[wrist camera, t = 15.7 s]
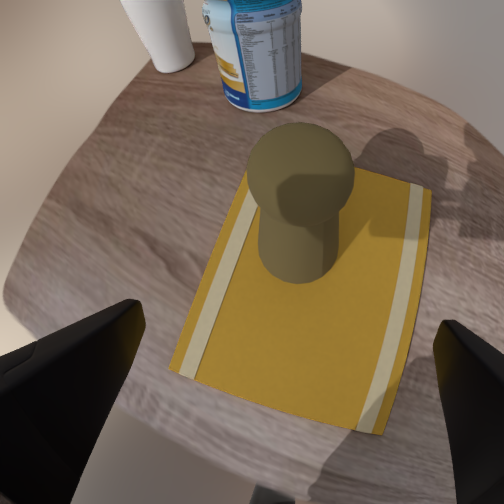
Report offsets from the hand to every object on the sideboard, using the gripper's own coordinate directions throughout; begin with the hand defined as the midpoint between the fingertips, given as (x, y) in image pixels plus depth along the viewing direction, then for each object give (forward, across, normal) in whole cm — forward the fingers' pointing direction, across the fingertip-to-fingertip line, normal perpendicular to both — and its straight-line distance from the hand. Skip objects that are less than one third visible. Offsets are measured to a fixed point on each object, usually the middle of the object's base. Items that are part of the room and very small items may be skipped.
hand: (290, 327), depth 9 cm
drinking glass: (+32, +16, -13) cm, 38 cm away
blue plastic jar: (+28, +4, -8) cm, 29 cm away
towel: (+14, -2, +6) cm, 15 cm away
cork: (+15, 0, +4) cm, 15 cm away
